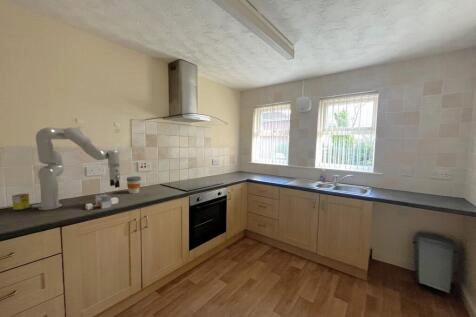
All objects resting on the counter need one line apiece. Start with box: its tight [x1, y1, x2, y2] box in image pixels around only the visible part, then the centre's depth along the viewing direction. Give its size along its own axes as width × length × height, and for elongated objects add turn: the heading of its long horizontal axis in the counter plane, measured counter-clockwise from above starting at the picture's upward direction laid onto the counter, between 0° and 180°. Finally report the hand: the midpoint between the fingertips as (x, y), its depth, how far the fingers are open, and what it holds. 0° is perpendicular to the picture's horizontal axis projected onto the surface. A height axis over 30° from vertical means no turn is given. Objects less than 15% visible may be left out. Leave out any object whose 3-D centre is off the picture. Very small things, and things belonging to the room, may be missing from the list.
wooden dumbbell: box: [85, 197, 120, 211], centre depth 155 cm, size 22×4×4 cm, turn 147°
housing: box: [95, 193, 112, 209], centre depth 154 cm, size 6×14×8 cm, turn 52°
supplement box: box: [11, 193, 30, 211], centre depth 143 cm, size 6×6×11 cm
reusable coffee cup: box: [126, 176, 142, 194], centre depth 197 cm, size 13×13×15 cm
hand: (114, 186), depth 160 cm, fingers open, 9 cm apart
